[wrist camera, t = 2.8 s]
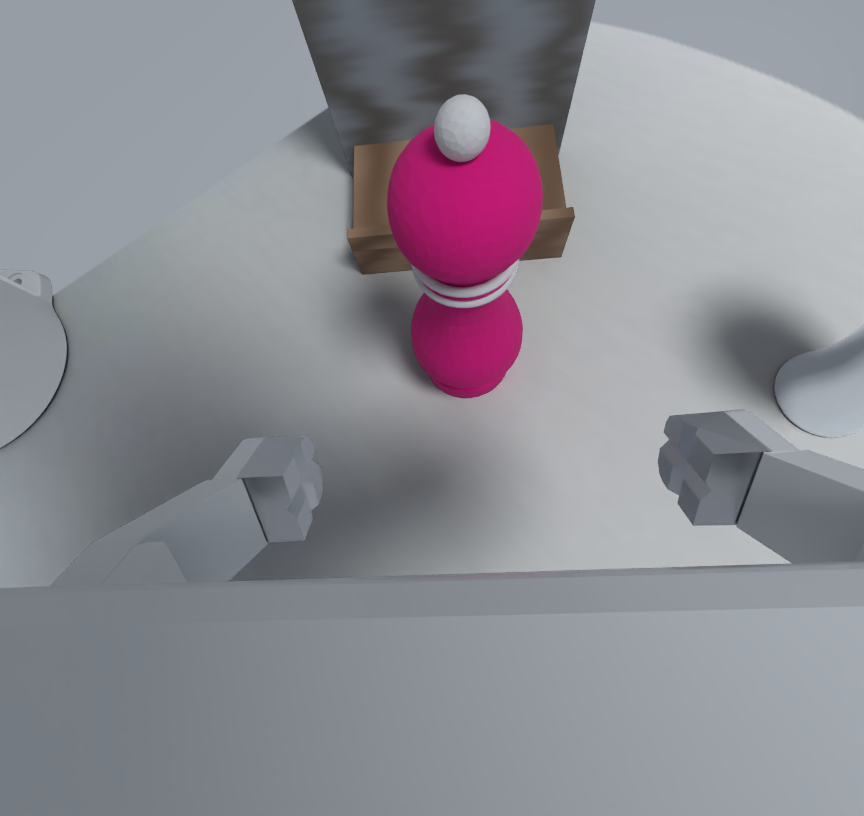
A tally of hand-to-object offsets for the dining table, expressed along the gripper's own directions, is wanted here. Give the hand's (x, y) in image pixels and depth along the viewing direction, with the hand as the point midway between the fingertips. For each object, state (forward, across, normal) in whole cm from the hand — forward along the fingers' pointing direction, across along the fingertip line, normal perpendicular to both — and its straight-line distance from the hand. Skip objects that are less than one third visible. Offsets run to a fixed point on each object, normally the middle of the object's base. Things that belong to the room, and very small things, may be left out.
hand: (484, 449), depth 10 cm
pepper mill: (+21, 0, +7) cm, 22 cm away
